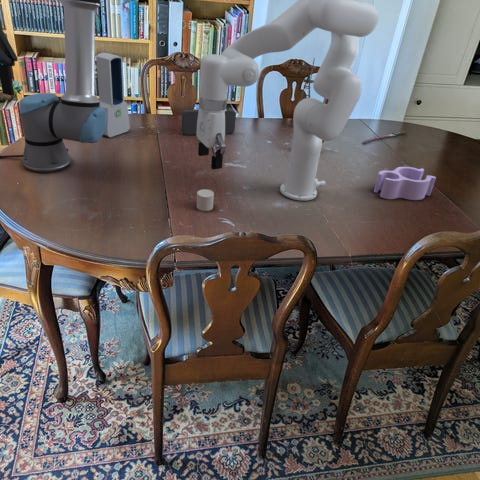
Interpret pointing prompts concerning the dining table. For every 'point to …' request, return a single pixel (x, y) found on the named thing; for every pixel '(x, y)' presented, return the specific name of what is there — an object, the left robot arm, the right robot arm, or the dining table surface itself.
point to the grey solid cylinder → (205, 200)
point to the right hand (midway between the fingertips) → (209, 161)
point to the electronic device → (112, 93)
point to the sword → (383, 137)
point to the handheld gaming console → (192, 115)
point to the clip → (404, 184)
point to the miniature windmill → (306, 82)
